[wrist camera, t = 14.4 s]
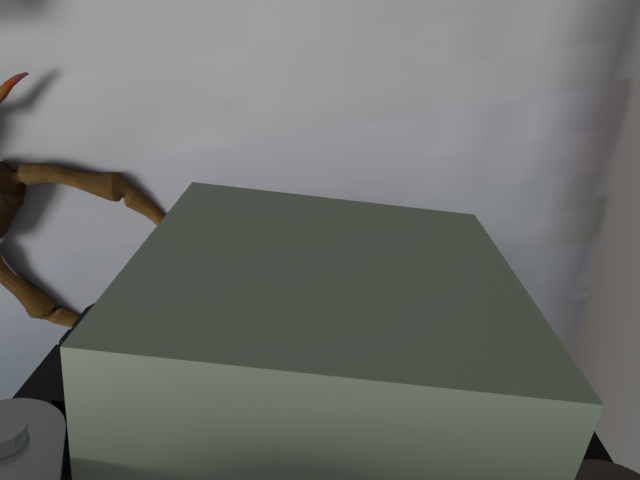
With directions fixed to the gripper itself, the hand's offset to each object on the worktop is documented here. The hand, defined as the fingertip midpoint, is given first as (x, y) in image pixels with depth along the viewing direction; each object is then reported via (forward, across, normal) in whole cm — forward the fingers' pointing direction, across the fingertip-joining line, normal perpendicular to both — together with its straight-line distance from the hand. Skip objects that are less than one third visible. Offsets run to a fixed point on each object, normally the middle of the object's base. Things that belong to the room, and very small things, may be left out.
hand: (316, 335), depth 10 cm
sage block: (0, 0, 0) cm, 0 cm away
